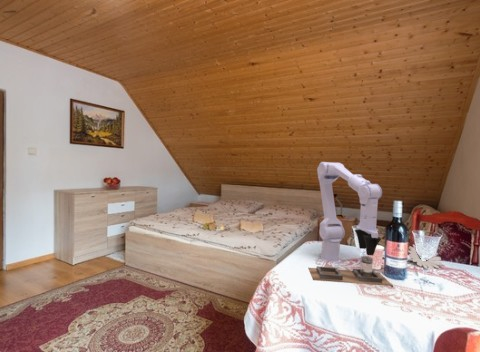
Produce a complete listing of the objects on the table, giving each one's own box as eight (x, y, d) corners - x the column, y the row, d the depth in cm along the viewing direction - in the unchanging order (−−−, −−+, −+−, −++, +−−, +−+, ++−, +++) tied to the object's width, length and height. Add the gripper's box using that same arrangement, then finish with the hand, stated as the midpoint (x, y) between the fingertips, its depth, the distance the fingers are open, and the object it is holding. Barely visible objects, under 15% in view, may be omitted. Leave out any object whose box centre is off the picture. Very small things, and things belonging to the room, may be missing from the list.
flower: (364, 242, 133) (436, 242, 124) (364, 250, 136) (434, 250, 127) (369, 265, 122) (448, 266, 114) (369, 272, 125) (445, 275, 117)
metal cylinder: (358, 274, 106) (359, 255, 106) (369, 275, 106) (370, 256, 106) (362, 279, 103) (363, 259, 102) (373, 279, 102) (374, 260, 102)
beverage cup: (372, 263, 121) (374, 232, 120) (385, 268, 116) (388, 235, 115) (363, 266, 117) (365, 233, 117) (377, 271, 112) (379, 237, 112)
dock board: (307, 268, 112) (308, 264, 112) (379, 273, 110) (379, 268, 110) (313, 281, 100) (313, 276, 100) (393, 287, 98) (393, 281, 98)
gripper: (351, 212, 111) (349, 245, 112) (364, 219, 97) (362, 257, 97) (369, 212, 110) (367, 246, 111) (385, 220, 96) (382, 258, 97)
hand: (366, 251), depth 104 cm, fingers open, 7 cm apart
